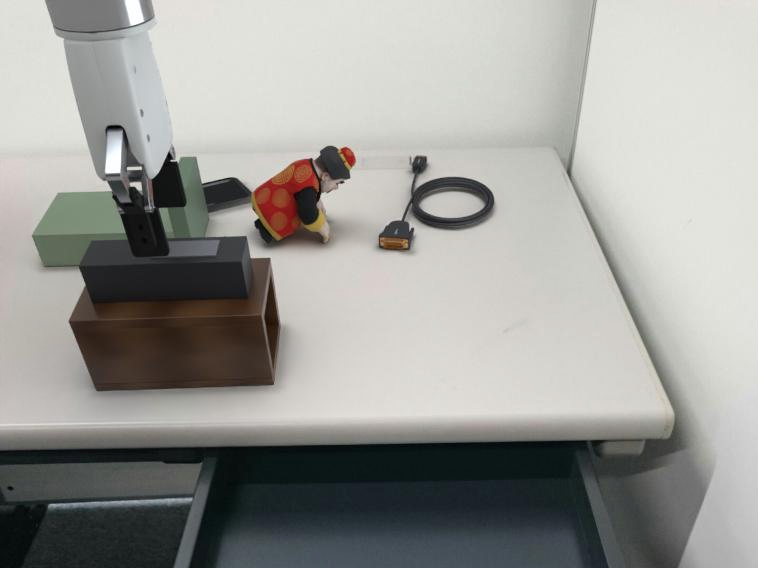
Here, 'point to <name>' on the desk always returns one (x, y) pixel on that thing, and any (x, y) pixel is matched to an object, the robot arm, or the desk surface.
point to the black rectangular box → (168, 271)
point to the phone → (225, 194)
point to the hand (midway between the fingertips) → (162, 229)
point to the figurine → (300, 194)
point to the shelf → (182, 339)
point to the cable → (398, 230)
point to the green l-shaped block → (112, 219)
